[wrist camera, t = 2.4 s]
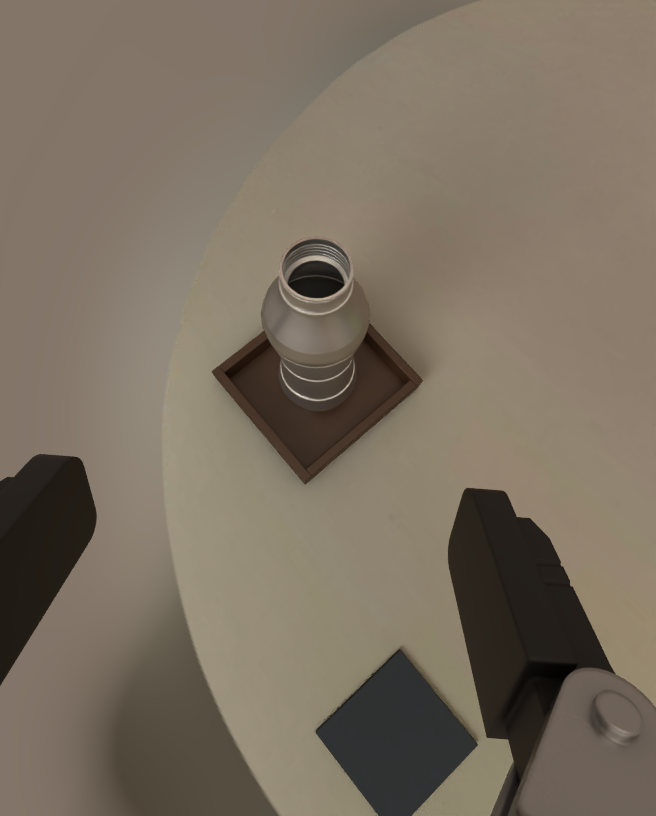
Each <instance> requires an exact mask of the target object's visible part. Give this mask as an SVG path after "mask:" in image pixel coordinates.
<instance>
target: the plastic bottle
mask: <svg viewBox="0 0 656 816" xmlns="http://www.w3.org/2000/svg"><path fill="white" fill-rule="evenodd" d="M353 274H354V269H353V262H352V259H351V257H350V255H349V253H348V252H347V250H346V249H345V248H344V247H343V246H341V245H340V244H339V243H337V242H335V241H333V240H331V239H328V238H324V237H308V238H304V239H301V240H299V241H297V242H295V243H294V244H292V245H291V246H290V247H289V248H288V249H287V250H286V251H285V253H284V254H283V256H282V258H281V261H280V266H279V276H278V277H277V278H276V279H275V280H274V281H273V283H272V284H271V286H270V287H269V289H268V291H267V294H266V296H265V299H264V301H263V304H262V311H261V318H262V325H263V328H264V332H265V334H266V336H267V338H268V340H269V341H270V343H271V345H272V346H273V347H274V349H275V350H276V351H277V353H278V354H279V355H280V357H281V361H280V367H279V381H280V385H281V388H282V389H283V391H284V393H285V395H286V396H287V397H288V398H289V399H290V400H291V401H292V402H294V403H295V404H296V405H298V406H300V407H302V408H304V409H307V410H310V411H326V410H330V409H333V408H335V407H337V406H338V405H340V404H341V403H342V402H344V401H345V400H346V399H347V398H348V397H349V395H350V394H351V393H352V391H353V389H354V387H355V384H356V379H357V371H356V364H355V360H354V358H353V356H354V353H355V352H356V350H357V349H358V347H359V346H360V344H361V343H362V341H363V339H364V337H365V335H366V332H367V329H368V326H369V320H370V311H369V304H368V302H367V299H366V296H365V294H364V292H363V290H362V288H361V287H360V285H359V283H358V282H357V281H356V280H355V279H354V278H353Z"/></svg>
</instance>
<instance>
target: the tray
mask: <svg viewBox="0 0 656 816" xmlns="http://www.w3.org/2000/svg"><path fill="white" fill-rule="evenodd" d="M353 358H354V360H355V364H356V371H357V379H356V384H355V387H354V389H353V391H352V393H351V394H350V395H349V397H348V398H347V399H346V400H345V401H344V402H342V403H341V404H340V405H338V406H337V407H335V408H333V409H330V410H326V411H310V410H307V409H304V408H302V407H300V406H298V405H296V404H295V403H294V402H292V401H291V400H290V399H289V398H288V397H287V396H286V395H285V393H284V391H283V389H282V388H281V385H280V381H279V367H280V361H281V357H280V355H279V354H278V353H277V351H276V350H275V349H274V347H273V346H272V345H271V343H270V341H269V340H268V338H267V336H266V334H265V332H264V331H263V332H262V333H261V334H260V335H258V336H257V337H256V338H254V339H253V340H252V341H251V342H249V343H248V344H247V345H245V346H244V347H243V348H242V349H240V350H239V351H238V352H236V353H235V354H234V355H232V356H231V357H230V358H229V359H227V360H226V361H225V362H223V363H222V364H221V365H220V366H218V367H217V368H216V369H214V370H213V371H212V373H213V374H214V376H215V377H216V379H217V380H218V381H219V382H220V384H221V385H222V386H223V387H224V388H225V389H226V391H227V392H228V393H229V394H230V395H231V397H232V398H233V399H234V400H235V401H236V403H237V404H238V405H239V406H240V407H241V409H242V410H243V411H244V412H245V413H246V415H247V416H248V417H249V418H250V419H251V420H252V422H253V423H254V424H255V425H256V426H257V428H258V429H259V430H260V431H261V432H262V434H263V435H264V436H265V437H266V438H267V440H268V441H269V442H270V443H271V444H272V446H273V447H274V448H275V449H276V450H277V452H278V453H279V454H280V455H281V456H282V457H283V459H284V460H285V461H286V462H287V463H288V465H289V466H290V467H291V468H292V469H293V471H294V472H295V473H296V474H297V475H298V477H299V478H300V479H301V480H302V481H303V483H304V484H306V483H308V482H309V481H310V480H311V479H312V478H313V477H315V476H316V475H317V474H318V473H319V472H320V471H321V470H323V469H324V468H325V467H326V466H327V465H328V464H330V463H331V462H332V461H333V460H334V459H335V458H337V457H338V456H339V455H340V454H341V453H342V452H344V451H345V450H346V449H347V448H348V447H349V446H351V445H352V444H353V443H354V442H355V441H356V440H358V439H359V438H360V437H361V436H362V435H363V434H365V433H366V432H367V431H368V430H369V429H370V428H372V427H373V426H374V425H375V424H376V423H377V422H379V421H380V420H381V419H382V418H383V417H384V416H386V415H387V414H388V413H389V412H390V411H391V410H393V409H394V408H395V407H396V406H397V405H398V404H400V403H401V402H402V401H403V400H404V399H405V398H406V397H408V396H409V395H410V394H411V393H412V392H413V391H415V390H416V389H417V388H418V386H419V385H420V384H421V383H422V381H423V380H422V379H421V378H420V377H419V376H418V375H417V374H416V372H415V371H414V370H413V369H412V368H411V367H410V366H409V365H408V364H407V363H406V362H405V361H404V360H403V359H402V357H401V356H400V355H399V354H398V353H397V352H396V351H395V350H394V349H393V348H392V347H391V346H390V345H389V344H388V343H387V341H386V340H385V339H384V338H383V337H382V336H381V335H380V334H379V333H378V332H377V331H376V330H375V329H374V328H373V326H372V325H371V324H370V323H369V326H368V329H367V332H366V335H365V337H364V339H363V341H362V343H361V344H360V346H359V347H358V349H357V350H356V352H355V353H354V356H353Z"/></svg>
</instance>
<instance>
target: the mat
mask: <svg viewBox="0 0 656 816" xmlns="http://www.w3.org/2000/svg"><path fill="white" fill-rule="evenodd" d="M316 734H317V735H318V736H319V738H320V739H321V740H322V742H323V743H324V744H325V746H326V747H327V748H328V750H329V751H330V752H331V753H332V755H333V756H334V757H335V759H336V760H337V761H338V763H339V764H340V765H341V767H342V768H343V769H344V771H345V772H346V773H347V775H348V776H349V777H350V779H351V780H352V781H353V782H354V784H355V785H356V786H357V788H358V789H359V790H360V792H361V793H362V794H363V796H364V797H365V798H366V800H367V801H368V802H369V804H370V805H371V806H372V808H373V809H374V810H375V811H376V813H377V814H378V815H379V816H412V815H413V813H414V812H415V811H416V810H417V809H418V808H419V807H420V806H421V805H422V804H423V803H424V802H425V801H426V800H427V799H428V798H429V796H430V795H431V794H432V793H433V792H434V791H435V790H436V789H437V788H438V787H439V786H440V785H441V784H442V783H443V782H444V780H445V779H446V778H447V777H448V776H449V775H450V774H451V773H452V772H453V771H454V770H455V769H456V768H457V767H458V766H459V765H460V763H461V762H462V761H463V760H464V759H465V758H466V757H467V756H468V755H469V754H470V753H471V752H472V751H473V750H474V749H475V747H476V746H477V745H478V744H477V743H476V742H475V740H474V739H473V738H472V737H471V736H470V734H469V733H468V732H467V731H466V729H465V728H464V727H463V726H462V725H461V723H460V722H459V721H458V720H457V719H456V717H455V716H454V715H453V714H452V712H451V711H450V710H449V709H448V708H447V706H446V705H445V704H444V703H443V701H442V700H441V699H440V698H439V697H438V695H437V694H436V693H435V692H434V690H433V689H432V688H431V687H430V686H429V684H428V683H427V682H426V681H425V679H424V678H423V677H422V676H421V675H420V673H419V672H418V671H417V670H416V669H415V667H414V666H413V665H412V664H411V662H410V661H409V660H408V659H407V658H406V656H405V655H404V654H403V653H402V651H401V650H400V649H399V650H398V651H397V652H396V653H395V654H394V655H393V656H392V657H391V658H390V659H389V660H388V661H387V662H386V663H385V664H384V665H383V666H382V667H381V668H380V669H379V670H378V671H377V672H376V673H375V674H374V675H373V676H372V677H371V678H370V679H368V680H367V681H366V682H365V683H364V684H363V685H362V686H361V687H360V688H359V689H358V690H357V691H356V692H355V693H354V694H353V695H352V696H351V697H350V698H349V699H348V700H347V701H346V702H345V703H344V704H343V705H342V706H341V707H340V708H339V709H338V710H337V711H336V712H335V713H334V714H333V715H332V716H331V717H330V718H329V719H328V720H327V721H326V722H325V723H323V724H322V725H321V726H320V727H319V728H318V729H317V730H316Z"/></svg>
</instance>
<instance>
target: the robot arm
mask: <svg viewBox="0 0 656 816" xmlns="http://www.w3.org/2000/svg"><path fill="white" fill-rule="evenodd" d="M96 516H97V515H96V508H95V505H94V501H93V497H92V494H91V490H90V486H89V483H88V479H87V475H86V472H85V468H84V465H83V462H82V461H81V460H80V458H78V457H71V456H58V455H45V454H39V455H36V456H34V457H33V458H32V459H31V460H30V461H29V462H28V463H27V464H26V465H25V466H24V467H23V468H22V469H21V470H20V471H19V472H18V473H17V475H15V477H7V478H5V479H3V480H2V481H0V685H1V684H2V682H3V680H4V679H5V677H6V676H7V674H8V672H9V671H10V669H11V667H12V666H13V664H14V663H15V661H16V659H17V658H18V656H19V655H20V653H21V651H22V650H23V648H24V646H25V645H26V643H27V641H28V640H29V638H30V637H31V635H32V633H33V632H34V630H35V629H36V627H37V626H38V624H39V622H40V621H41V619H42V617H43V616H44V614H45V613H46V611H47V609H48V608H49V606H50V605H51V603H52V601H53V600H54V598H55V597H56V595H57V593H58V592H59V590H60V588H61V587H62V585H63V583H64V582H65V580H66V579H67V577H68V575H69V574H70V572H71V570H72V569H73V568H74V566H75V564H76V563H77V561H78V559H79V558H80V556H81V554H82V553H83V551H84V550H85V548H86V546H87V545H88V543H89V542H90V540H91V538H92V536H93V533H94V530H95V525H96ZM448 563H449V570H450V574H451V579H452V583H453V588H454V592H455V597H456V601H457V606H458V610H459V615H460V619H461V624H462V628H463V633H464V637H465V642H466V646H467V651H468V655H469V660H470V664H471V669H472V673H473V678H474V682H475V687H476V691H477V696H478V700H479V705H480V709H481V714H482V718H483V723H484V727H485V732H486V736H487V738H497V739H508V740H509V744H510V748H511V752H512V756H513V760H514V762H513V763H512V765H511V767H510V770H509V772H508V774H507V777H506V779H505V782H504V784H503V787H502V789H501V792H500V794H499V796H498V799H497V801H496V804H495V806H494V809H493V811H492V813H491V816H656V708H655V706H654V705H653V704H652V703H651V701H650V700H649V699H648V698H647V697H646V696H645V695H644V694H643V693H642V692H641V691H640V690H638V689H637V688H636V687H635V686H634V685H632V684H631V683H629V682H628V681H626V680H625V679H623V678H621V677H619V676H618V675H616V674H615V672H614V671H613V669H612V667H611V665H610V664H609V661H608V659H607V657H606V655H605V653H604V651H603V649H602V647H601V645H600V643H599V641H598V639H597V636H596V634H595V632H594V630H593V628H592V626H591V624H590V622H589V620H588V618H587V616H586V613H585V611H584V609H583V607H582V605H581V603H580V601H579V599H578V597H577V595H576V593H575V591H574V588H573V587H571V586H570V580H569V578H568V576H567V574H566V572H565V570H564V568H563V567H561V564H560V563H561V561H560V559H559V557H558V555H557V553H556V551H555V549H554V547H553V545H552V543H551V540H550V539H549V538H548V536H547V535H546V534H545V533H544V532H543V531H542V530H541V529H540V528H539V527H538V526H537V525H536V524H535V523H534V522H533V521H532V520H531V519H530V518H521V517H516V514H515V512H514V510H513V507H512V505H511V502H510V500H509V498H508V496H507V494H506V493H505V492H504V491H501V490H488V489H475V488H466V489H465V490H464V492H463V495H462V498H461V501H460V505H459V508H458V511H457V515H456V518H455V522H454V525H453V529H452V532H451V535H450V539H449V546H448Z"/></svg>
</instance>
